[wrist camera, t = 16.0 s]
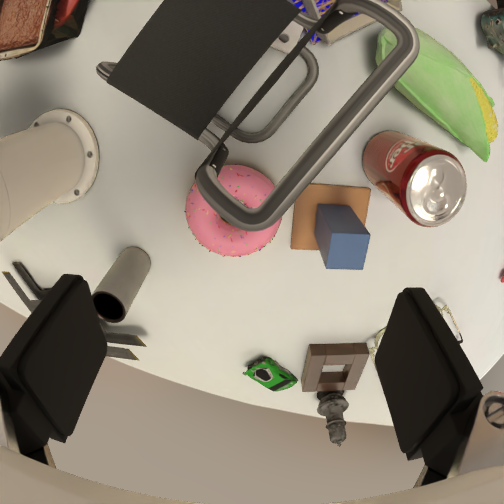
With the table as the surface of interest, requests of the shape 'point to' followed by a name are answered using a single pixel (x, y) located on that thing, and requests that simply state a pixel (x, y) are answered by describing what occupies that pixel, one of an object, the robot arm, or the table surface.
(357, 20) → the blue square ridged piece
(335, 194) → the cork mat
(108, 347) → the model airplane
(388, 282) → the table surface
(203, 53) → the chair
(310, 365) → the brown square frame
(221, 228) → the doughnut
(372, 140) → the soda can
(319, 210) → the peg
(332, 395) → the grey chess piece
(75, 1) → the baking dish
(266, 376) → the toy car
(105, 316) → the grey hollow cylinder
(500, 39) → the teal bag
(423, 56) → the corn
